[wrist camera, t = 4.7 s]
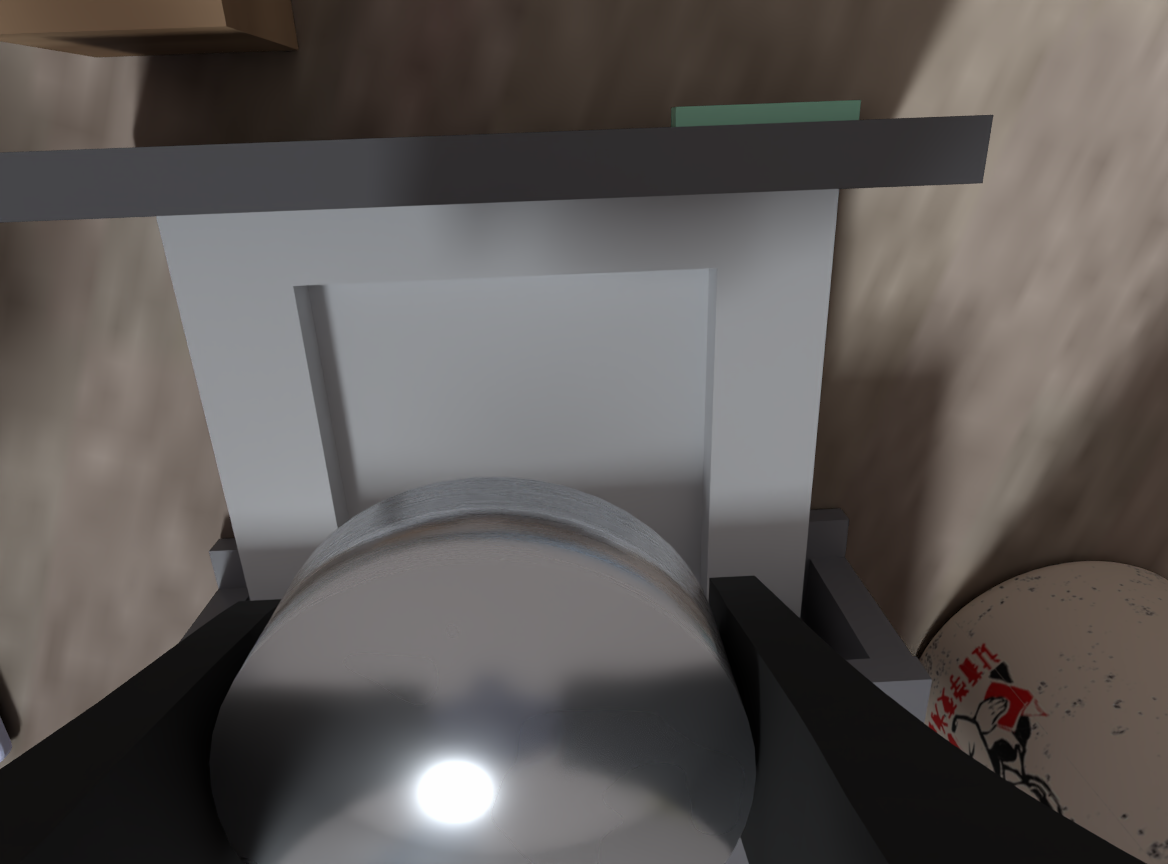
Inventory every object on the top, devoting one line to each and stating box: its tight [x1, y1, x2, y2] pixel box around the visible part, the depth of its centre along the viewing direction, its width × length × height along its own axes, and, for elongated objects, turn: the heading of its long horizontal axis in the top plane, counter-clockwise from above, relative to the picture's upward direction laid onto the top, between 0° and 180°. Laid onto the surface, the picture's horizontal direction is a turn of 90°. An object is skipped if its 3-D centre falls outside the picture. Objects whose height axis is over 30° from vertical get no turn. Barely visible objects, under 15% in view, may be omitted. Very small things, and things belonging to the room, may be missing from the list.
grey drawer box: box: [179, 508, 932, 864], centre depth 19 cm, size 16×13×5 cm
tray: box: [0, 100, 993, 618], centre depth 15 cm, size 16×12×4 cm
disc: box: [209, 477, 756, 864], centre depth 8 cm, size 6×6×2 cm
